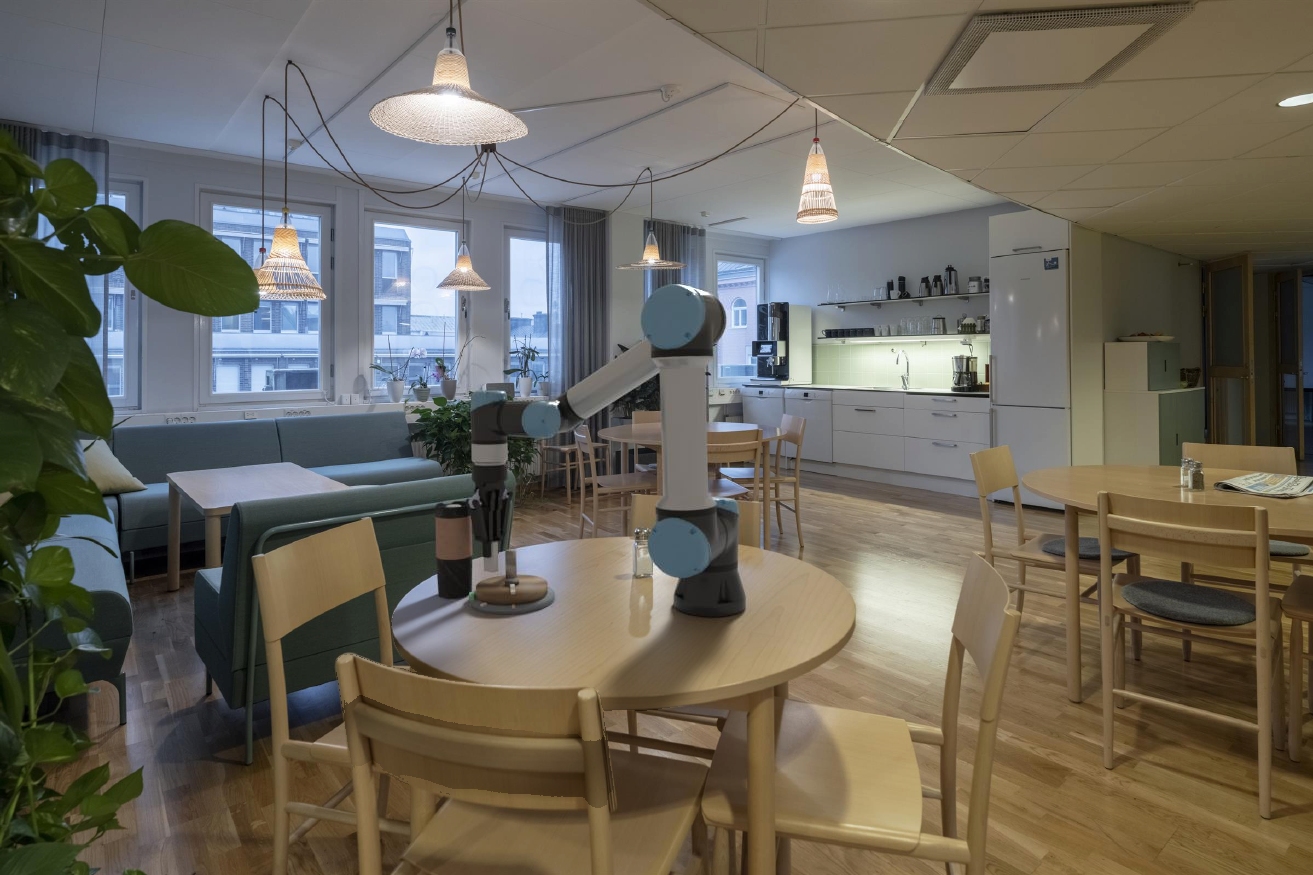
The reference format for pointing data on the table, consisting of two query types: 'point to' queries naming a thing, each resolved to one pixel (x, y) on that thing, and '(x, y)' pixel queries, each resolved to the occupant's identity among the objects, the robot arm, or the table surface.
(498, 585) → the dial
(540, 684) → the table surface
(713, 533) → the robot arm
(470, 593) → the gauge plate
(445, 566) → the travel mug
